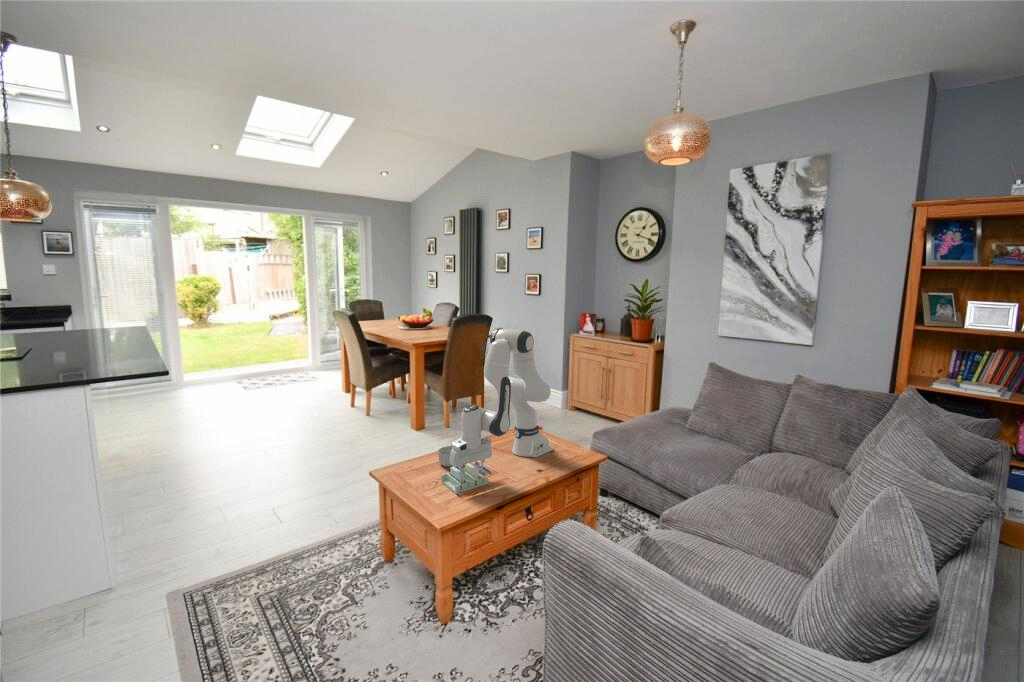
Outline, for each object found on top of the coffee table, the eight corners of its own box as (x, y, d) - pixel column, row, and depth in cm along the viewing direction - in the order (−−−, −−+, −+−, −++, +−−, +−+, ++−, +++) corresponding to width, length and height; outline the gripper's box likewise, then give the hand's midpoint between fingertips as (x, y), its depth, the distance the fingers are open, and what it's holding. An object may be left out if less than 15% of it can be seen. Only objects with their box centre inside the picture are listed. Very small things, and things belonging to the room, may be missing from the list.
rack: (471, 473, 214) (471, 459, 212) (487, 484, 202) (487, 469, 201) (441, 482, 204) (440, 467, 203) (456, 494, 193) (455, 478, 192)
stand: (477, 464, 224) (477, 460, 224) (491, 473, 213) (491, 470, 213) (468, 466, 221) (468, 463, 221) (482, 476, 211) (482, 472, 210)
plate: (468, 474, 209) (468, 462, 208) (478, 482, 202) (478, 469, 201) (465, 475, 208) (465, 463, 207) (475, 483, 201) (475, 470, 200)
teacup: (456, 470, 217) (456, 454, 216) (434, 468, 219) (434, 452, 218) (465, 458, 230) (464, 443, 229) (444, 457, 233) (444, 442, 231)
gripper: (487, 434, 211) (487, 463, 213) (447, 444, 199) (448, 473, 201) (494, 438, 206) (494, 467, 208) (454, 448, 194) (455, 479, 196)
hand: (471, 470), depth 205 cm, fingers open, 8 cm apart
